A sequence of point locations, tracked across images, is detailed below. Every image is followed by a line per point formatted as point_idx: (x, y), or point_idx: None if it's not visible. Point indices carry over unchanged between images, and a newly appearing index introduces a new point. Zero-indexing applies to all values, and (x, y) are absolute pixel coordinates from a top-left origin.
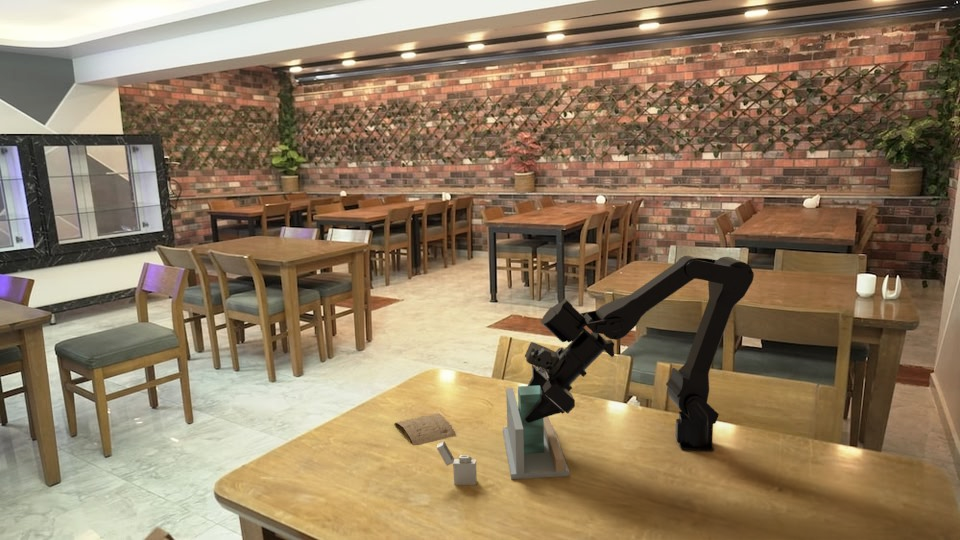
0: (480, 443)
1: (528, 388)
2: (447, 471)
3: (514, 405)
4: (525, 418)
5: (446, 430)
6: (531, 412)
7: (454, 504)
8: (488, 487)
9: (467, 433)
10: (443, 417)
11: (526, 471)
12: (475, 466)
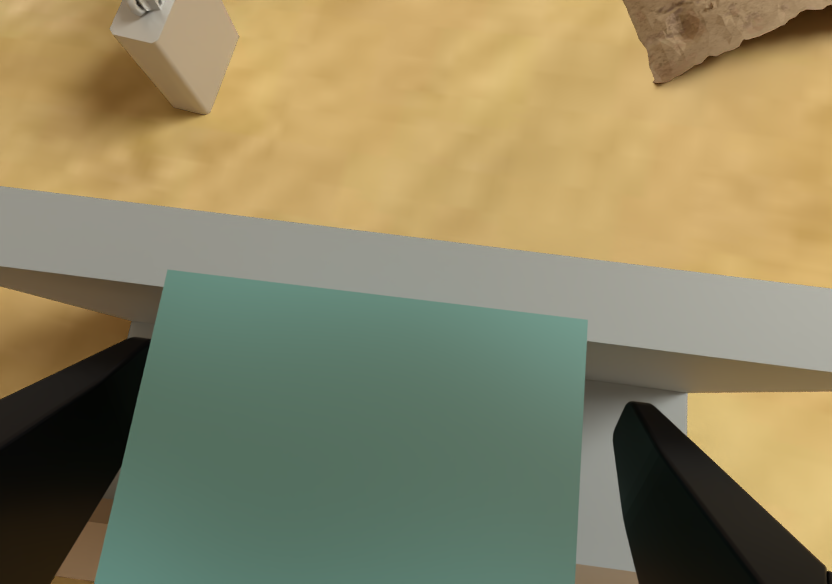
0: (555, 186)
1: (441, 507)
2: (319, 12)
3: (447, 290)
4: (129, 339)
5: (695, 30)
6: (9, 397)
7: (57, 9)
8: (131, 152)
9: (680, 141)
10: (819, 6)
11: (147, 336)
12: (127, 49)
